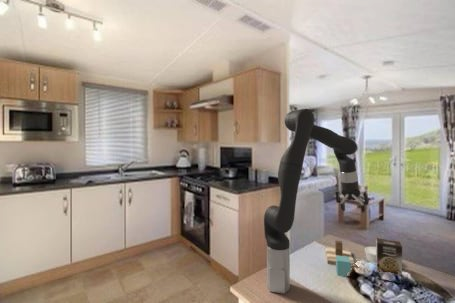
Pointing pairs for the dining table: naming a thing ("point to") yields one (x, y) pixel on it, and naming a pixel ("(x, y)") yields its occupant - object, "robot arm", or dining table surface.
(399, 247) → the coffee box
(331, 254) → the post block
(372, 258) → the ramekin
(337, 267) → the teal toy cube
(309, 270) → the dining table surface
